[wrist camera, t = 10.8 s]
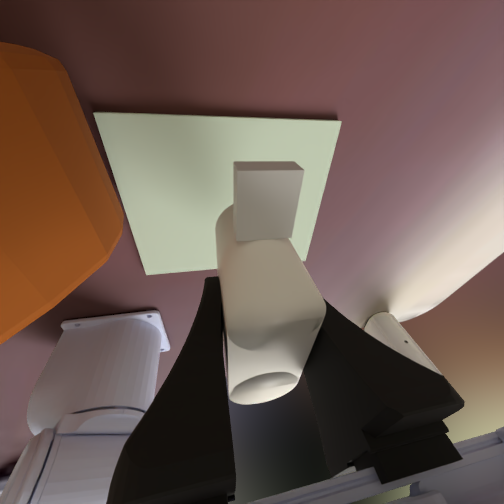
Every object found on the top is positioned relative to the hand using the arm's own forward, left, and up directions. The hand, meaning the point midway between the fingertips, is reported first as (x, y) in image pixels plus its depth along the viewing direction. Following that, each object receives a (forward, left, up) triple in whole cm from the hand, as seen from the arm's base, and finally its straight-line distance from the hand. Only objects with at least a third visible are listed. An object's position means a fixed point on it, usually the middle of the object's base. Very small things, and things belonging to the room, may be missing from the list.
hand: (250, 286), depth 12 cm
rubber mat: (0, 0, -9) cm, 9 cm away
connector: (0, +1, -2) cm, 2 cm away
